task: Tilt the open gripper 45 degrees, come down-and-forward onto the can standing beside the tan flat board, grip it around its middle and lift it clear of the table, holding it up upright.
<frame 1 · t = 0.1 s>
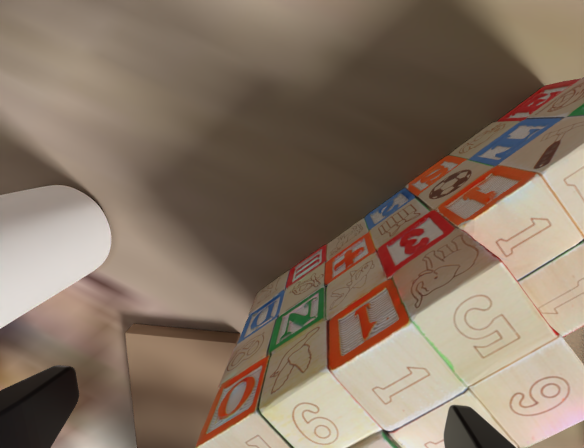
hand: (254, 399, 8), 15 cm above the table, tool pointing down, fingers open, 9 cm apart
stack of blocks: (410, 236, 22), on the table
can: (72, 228, 24), on the table
tan flat board: (189, 395, 27), on the table
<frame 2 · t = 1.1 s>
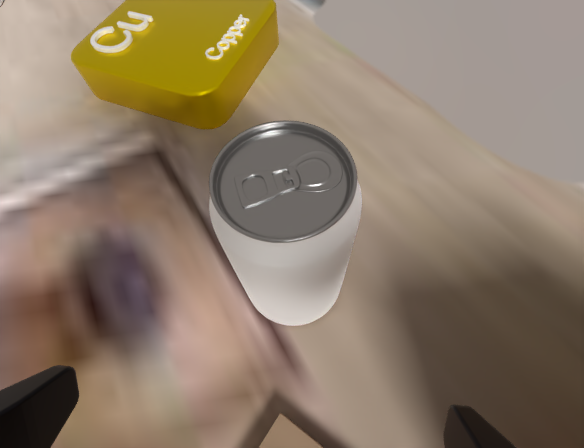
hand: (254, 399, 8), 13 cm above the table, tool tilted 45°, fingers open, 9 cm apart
element tile: (191, 68, 35), on the table
can: (293, 280, 24), on the table
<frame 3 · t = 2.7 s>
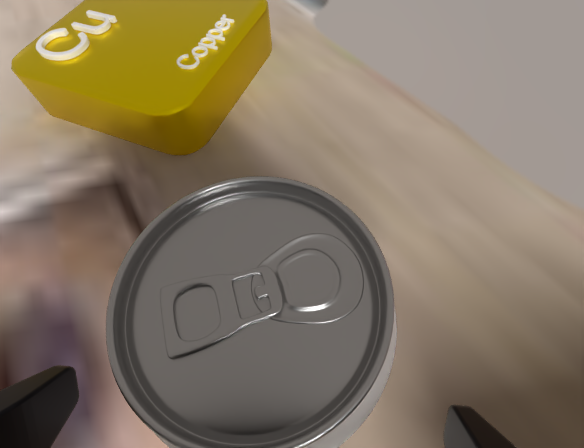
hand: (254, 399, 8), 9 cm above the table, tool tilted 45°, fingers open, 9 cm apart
element tile: (166, 79, 29), on the table
can: (284, 367, 17), on the table
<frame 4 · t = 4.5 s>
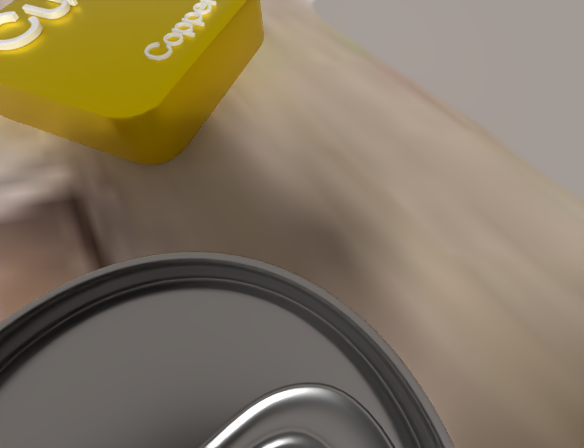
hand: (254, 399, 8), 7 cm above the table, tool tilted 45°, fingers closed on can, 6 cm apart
element tile: (140, 74, 25), on the table
can: (273, 445, 13), on the table, touching gripper
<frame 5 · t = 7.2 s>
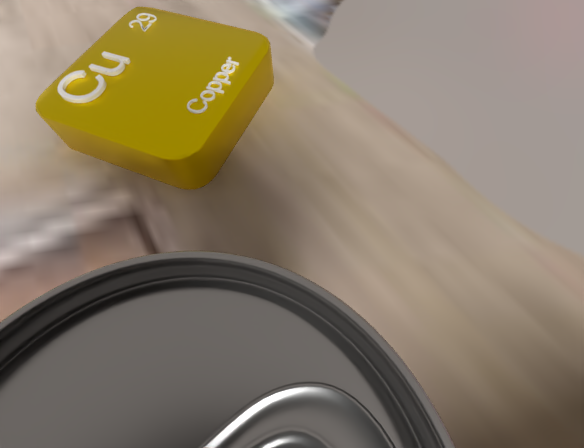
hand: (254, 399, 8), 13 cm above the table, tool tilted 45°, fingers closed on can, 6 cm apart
element tile: (175, 111, 32), on the table
can: (273, 443, 13), point 6 cm above the table, touching gripper
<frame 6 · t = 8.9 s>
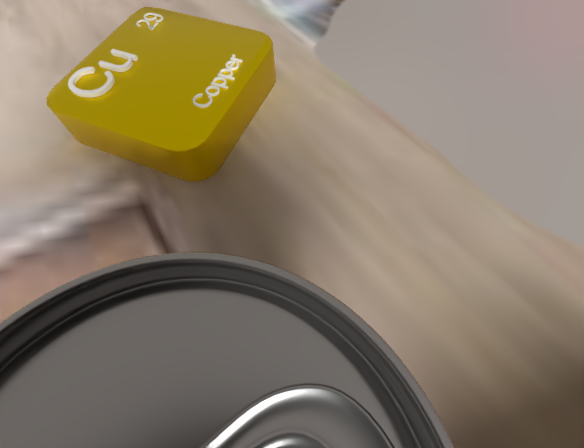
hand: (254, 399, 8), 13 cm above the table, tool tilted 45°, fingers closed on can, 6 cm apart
element tile: (180, 107, 33), on the table
can: (273, 444, 13), point 7 cm above the table, touching gripper
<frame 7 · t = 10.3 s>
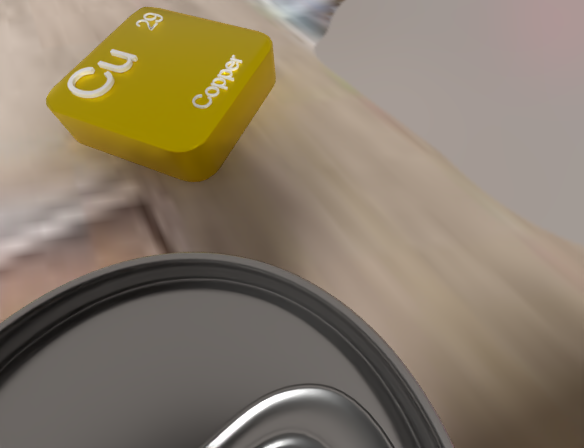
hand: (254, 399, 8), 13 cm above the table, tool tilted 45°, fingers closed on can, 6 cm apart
element tile: (180, 108, 33), on the table
can: (273, 444, 13), point 7 cm above the table, touching gripper
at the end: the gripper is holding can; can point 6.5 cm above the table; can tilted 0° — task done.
